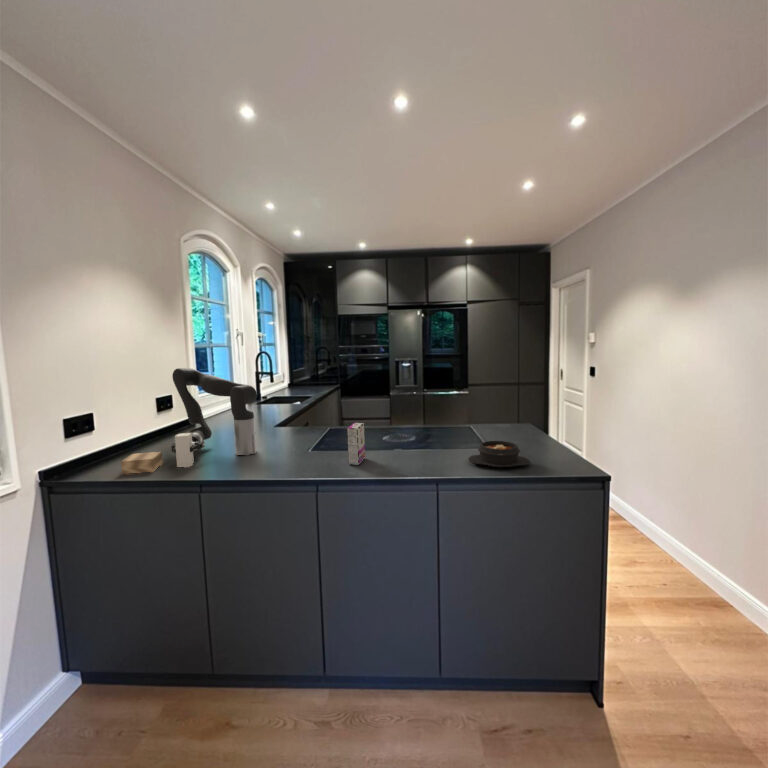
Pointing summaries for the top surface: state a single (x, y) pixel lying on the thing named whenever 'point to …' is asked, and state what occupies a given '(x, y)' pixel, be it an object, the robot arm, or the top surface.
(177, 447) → the off-white column
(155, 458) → the oak block
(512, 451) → the casserole
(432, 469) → the top surface
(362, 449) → the candy bar box
